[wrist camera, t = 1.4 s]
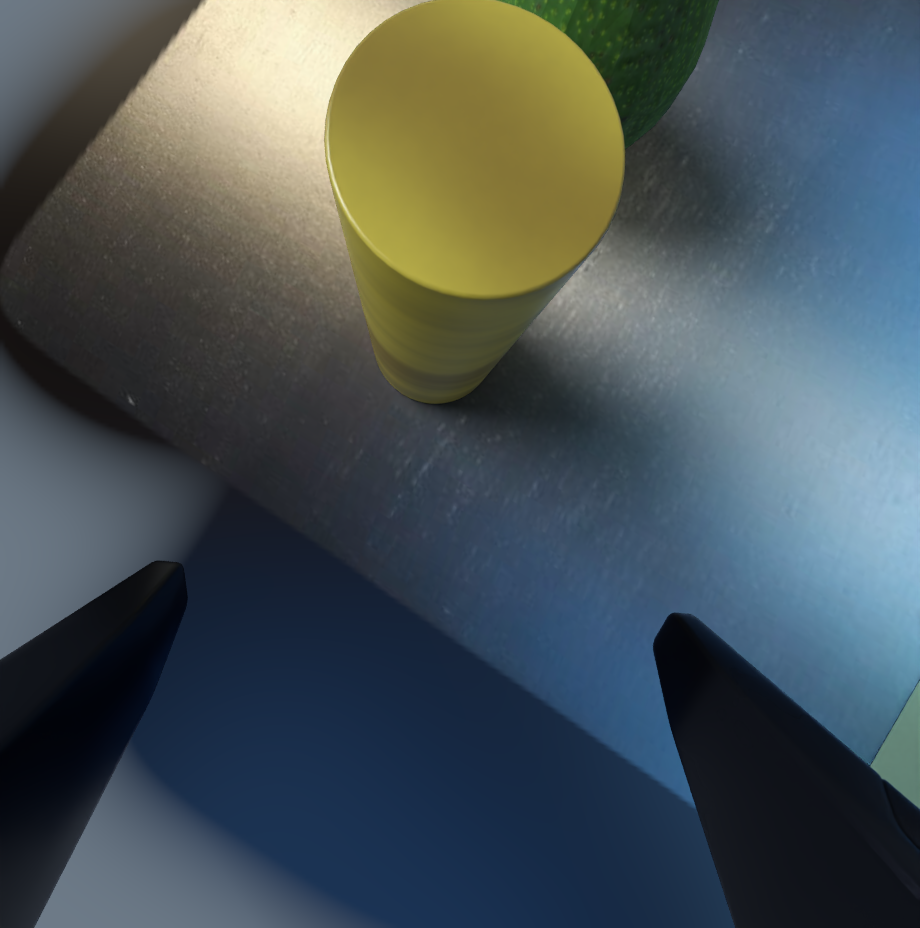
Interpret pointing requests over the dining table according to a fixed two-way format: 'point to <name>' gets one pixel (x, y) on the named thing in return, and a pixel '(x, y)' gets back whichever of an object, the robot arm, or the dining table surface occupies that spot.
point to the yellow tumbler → (467, 183)
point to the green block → (903, 751)
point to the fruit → (634, 48)
